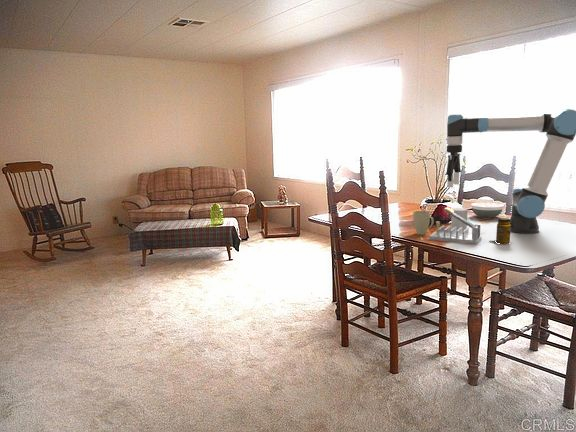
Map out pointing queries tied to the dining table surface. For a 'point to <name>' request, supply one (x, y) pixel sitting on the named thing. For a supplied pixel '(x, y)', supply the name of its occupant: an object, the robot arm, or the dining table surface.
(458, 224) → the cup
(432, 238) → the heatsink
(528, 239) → the dining table surface
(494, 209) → the bowl
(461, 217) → the grey bar
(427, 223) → the mug
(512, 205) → the robot arm
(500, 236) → the condiment
